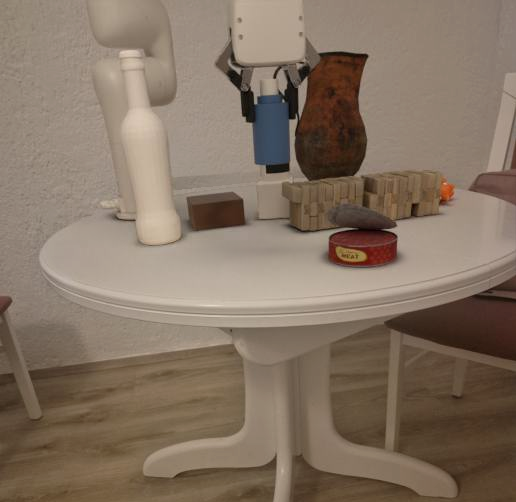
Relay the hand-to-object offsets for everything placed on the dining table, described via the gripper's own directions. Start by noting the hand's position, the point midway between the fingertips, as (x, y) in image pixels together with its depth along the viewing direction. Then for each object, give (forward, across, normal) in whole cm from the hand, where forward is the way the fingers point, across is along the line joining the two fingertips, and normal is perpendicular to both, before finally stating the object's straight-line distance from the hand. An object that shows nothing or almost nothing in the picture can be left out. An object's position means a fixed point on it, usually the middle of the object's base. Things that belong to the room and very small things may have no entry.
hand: (270, 119), depth 70 cm
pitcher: (+20, -23, -40) cm, 51 cm away
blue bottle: (+6, 0, 0) cm, 6 cm away
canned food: (+19, -10, +10) cm, 24 cm away
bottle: (+20, +18, -16) cm, 31 cm away
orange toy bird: (+19, -41, -20) cm, 49 cm away
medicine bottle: (+20, -7, -24) cm, 32 cm away
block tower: (+19, -20, -12) cm, 30 cm away
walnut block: (+19, +6, -24) cm, 32 cm away
